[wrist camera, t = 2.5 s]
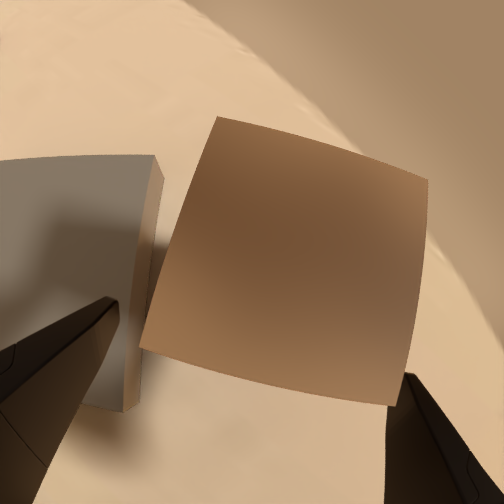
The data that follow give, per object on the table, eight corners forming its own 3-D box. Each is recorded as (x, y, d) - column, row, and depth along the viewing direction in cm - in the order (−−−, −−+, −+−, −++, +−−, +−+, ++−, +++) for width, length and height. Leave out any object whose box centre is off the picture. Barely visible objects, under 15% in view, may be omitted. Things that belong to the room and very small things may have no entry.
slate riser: (139, 401, 17) (123, 412, 14) (-24, 355, 16) (-50, 355, 14) (164, 178, 20) (154, 154, 17) (6, 178, 20) (-14, 162, 17)
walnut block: (289, 359, 18) (395, 406, 5) (204, 337, 18) (138, 347, 5) (309, 277, 19) (428, 179, 7) (228, 255, 19) (217, 116, 7)
